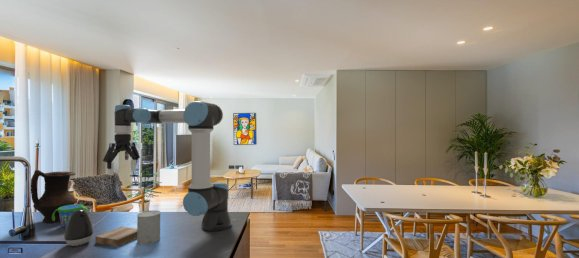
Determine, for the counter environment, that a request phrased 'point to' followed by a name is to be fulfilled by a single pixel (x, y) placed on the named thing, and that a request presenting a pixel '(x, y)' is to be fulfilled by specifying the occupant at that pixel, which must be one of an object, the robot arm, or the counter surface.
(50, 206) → the jug
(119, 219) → the counter surface
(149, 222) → the white canister
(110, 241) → the pedestal
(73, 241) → the egg shaped speaker
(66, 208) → the snack cup
